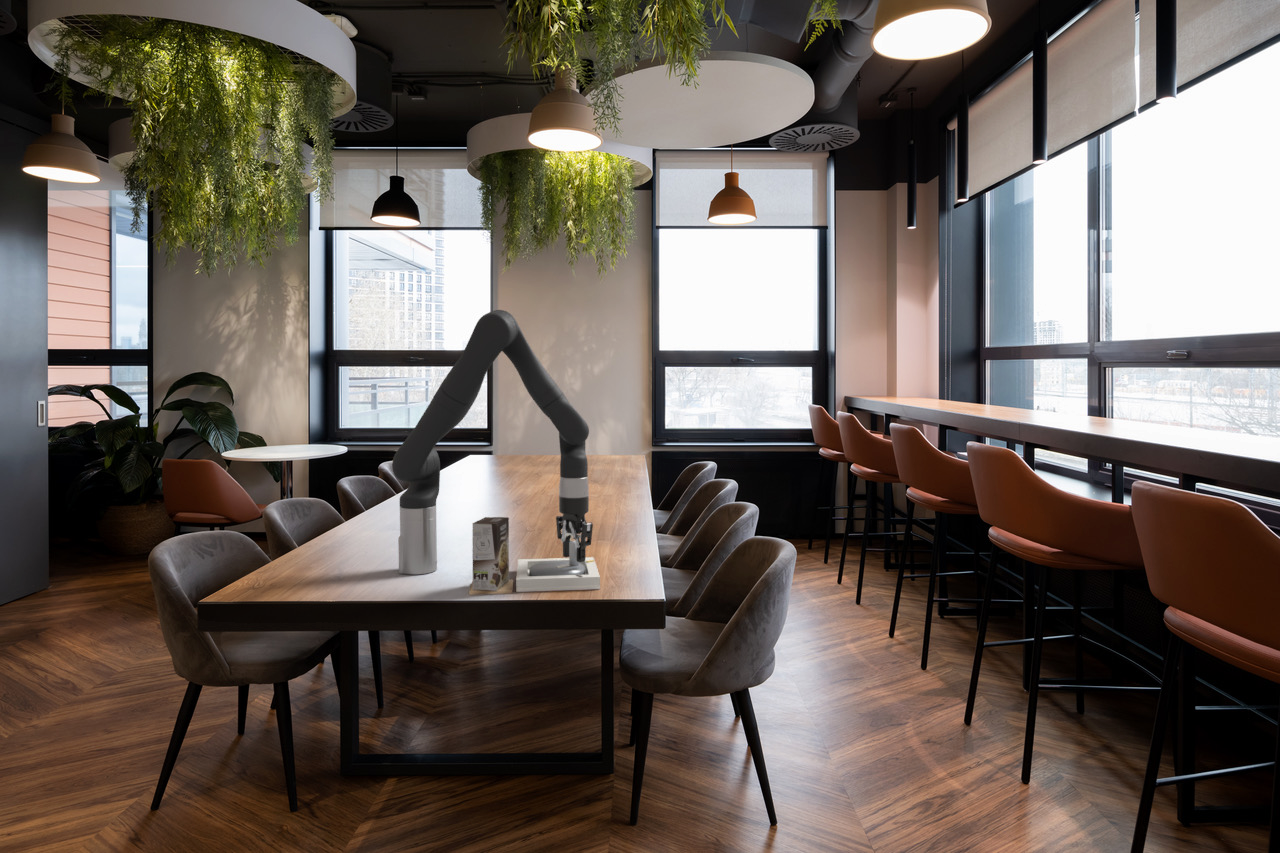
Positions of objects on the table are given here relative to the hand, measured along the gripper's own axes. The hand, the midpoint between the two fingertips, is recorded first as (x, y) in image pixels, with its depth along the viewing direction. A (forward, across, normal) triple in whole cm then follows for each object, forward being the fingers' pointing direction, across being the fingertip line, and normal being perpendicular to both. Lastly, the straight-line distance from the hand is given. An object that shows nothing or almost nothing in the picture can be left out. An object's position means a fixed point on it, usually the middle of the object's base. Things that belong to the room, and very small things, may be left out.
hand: (573, 558), depth 190 cm
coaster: (+5, +3, +22) cm, 23 cm away
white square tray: (+5, 0, +5) cm, 7 cm away
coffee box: (+4, +3, +22) cm, 22 cm away
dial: (+3, 0, +5) cm, 6 cm away
